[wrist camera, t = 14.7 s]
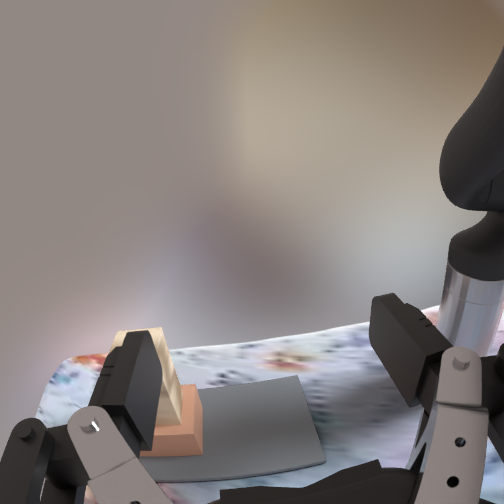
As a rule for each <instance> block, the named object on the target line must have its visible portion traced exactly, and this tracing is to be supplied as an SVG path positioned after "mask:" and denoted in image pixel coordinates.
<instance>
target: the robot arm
mask: <svg viewBox="0 0 504 504" xmlns="http://www.w3.org/2000/svg"><path fill="white" fill-rule="evenodd" d="M439 173H440V180H441V185H442V188H443V191H444V193H445V194H446V197H447V198H448V199H449V200H450V201H451V202H452V203H453V204H454V205H455V206H458V207H460V208H463V209H467V210H474V211H488V212H487V214H486V216H485V217H484V218H483V219H482V220H481V221H480V222H479V223H478V224H476V225H474V226H473V227H471V228H468V229H466V230H463V231H461V232H459V233H457V234H456V235H454V236H453V238H452V239H451V242H450V245H449V252H448V260H447V266H446V273H445V280H444V286H443V292H442V298H441V303H440V308H439V313H438V317H437V322H436V327H435V326H434V325H432V323H431V321H430V320H429V319H426V316H425V315H424V314H423V313H422V312H421V311H420V310H419V309H417V308H416V307H414V306H412V305H410V304H408V303H406V304H404V303H403V302H402V301H401V300H400V299H399V298H398V297H397V296H396V295H395V294H394V293H390V294H385V295H381V296H376V297H374V298H373V300H372V306H371V316H370V326H369V339H370V343H371V346H372V348H373V349H374V351H375V352H376V354H377V355H378V357H379V359H380V360H381V362H382V363H383V365H384V367H385V368H386V370H387V371H388V373H389V375H390V376H391V378H392V379H393V381H394V383H395V384H396V386H397V388H398V389H399V391H400V393H401V394H402V396H403V397H404V399H405V401H406V402H407V404H408V406H409V407H413V406H416V405H418V404H422V406H423V407H424V408H423V411H422V414H421V418H420V422H419V426H418V430H417V434H416V438H415V442H414V445H413V449H412V452H411V455H410V458H409V461H408V463H407V465H406V468H405V469H403V468H382V467H381V465H380V463H379V460H378V459H377V460H374V461H370V462H367V463H364V464H361V465H357V466H354V467H350V468H347V469H343V470H340V471H338V472H336V473H334V474H332V475H330V476H328V477H326V478H324V479H322V480H320V481H318V482H316V483H313V484H311V485H309V486H306V487H303V488H288V487H268V486H255V487H247V488H237V489H225V490H220V499H219V500H216V501H213V502H211V503H208V504H495V503H492V502H490V501H487V500H484V499H481V498H480V492H481V487H482V480H483V474H484V466H485V458H486V448H487V436H488V437H489V439H490V440H491V442H492V444H493V445H494V447H495V449H496V450H497V452H498V454H499V456H500V457H501V459H502V461H503V463H504V343H503V344H502V345H501V346H500V349H499V351H498V354H497V355H495V356H488V354H489V352H490V349H491V346H492V343H493V341H494V338H495V335H496V332H497V329H498V326H499V322H500V319H501V316H502V312H503V309H504V47H503V49H502V52H501V55H500V56H499V58H498V60H497V62H496V64H495V66H494V68H493V70H492V72H491V74H490V75H489V77H488V79H487V81H486V82H485V84H484V86H483V88H482V89H481V91H480V93H479V94H478V96H477V97H476V98H475V100H474V101H473V103H472V104H471V105H470V107H469V108H468V109H467V111H466V112H465V113H464V114H463V116H462V117H461V118H460V119H459V120H458V122H457V123H456V124H455V125H454V127H453V128H452V130H451V131H450V133H449V135H448V136H447V139H446V141H445V143H444V146H443V149H442V154H441V158H440V166H439ZM162 379H163V373H162V366H161V362H160V360H159V357H158V354H157V351H156V348H155V346H154V343H153V340H152V337H151V334H150V332H149V331H148V330H142V331H131V332H127V333H126V336H125V338H124V341H123V344H122V346H116V347H115V348H114V349H113V350H112V351H111V352H110V353H109V354H108V355H107V357H106V360H105V362H104V365H103V368H102V370H101V373H100V377H99V378H98V380H97V383H96V386H95V388H94V391H93V394H92V396H91V399H90V402H89V405H88V406H87V407H84V408H81V409H79V410H78V411H76V412H75V413H74V414H73V415H72V416H71V418H70V419H69V421H68V424H67V425H62V426H57V427H52V428H46V426H45V425H44V424H43V423H42V422H41V421H40V420H39V419H36V418H28V419H24V420H22V421H21V422H19V423H18V424H17V425H16V426H15V427H14V429H13V430H12V432H11V435H10V437H9V440H8V442H7V445H6V448H5V450H4V453H3V456H2V458H1V462H0V504H83V503H84V496H85V490H86V485H89V487H90V489H91V491H92V493H93V495H94V497H95V498H96V500H97V502H98V504H174V503H173V502H172V501H171V500H170V499H169V498H168V496H167V495H166V494H165V493H164V492H163V490H162V489H161V488H160V487H159V485H158V484H157V483H156V482H155V480H154V479H153V478H152V477H151V475H150V474H149V473H148V471H147V470H146V469H145V467H144V466H143V465H142V463H141V462H140V461H139V456H140V451H152V445H153V437H154V430H155V423H156V417H157V410H158V404H159V397H160V391H161V385H162ZM44 478H45V479H46V480H45V484H44V488H43V493H42V497H41V502H40V493H41V490H42V485H43V481H44Z"/></svg>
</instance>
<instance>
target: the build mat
mask: <svg viewBox="0 0 504 504" xmlns="http://www.w3.org/2000/svg"><path fill="white" fill-rule="evenodd" d="M197 391H198V395H199V398H200V401H201V404H202V407H203V455H191V456H139V461H140V462H141V463H142V465H143V466H144V467H145V469H146V470H147V471H148V473H149V474H150V475H151V477H152V478H153V479H154V480H155V482H193V481H212V480H224V479H235V478H244V477H252V476H259V475H266V474H272V473H278V472H284V471H289V470H295V469H300V468H304V467H309V466H314V465H318V464H322V463H326V458H325V455H324V452H323V449H322V446H321V443H320V440H319V437H318V434H317V431H316V428H315V425H314V422H313V419H312V416H311V414H310V411H309V408H308V405H307V402H306V399H305V396H304V393H303V390H302V387H301V384H300V381H299V378H298V375H296V376H290V377H285V378H279V379H273V380H267V381H261V382H254V383H248V384H240V385H233V386H225V387H217V388H207V389H198V390H197Z"/></svg>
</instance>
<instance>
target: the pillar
mask: <svg viewBox="0 0 504 504" xmlns="http://www.w3.org/2000/svg"><path fill="white" fill-rule="evenodd" d="M142 330H148V331H149V332H150V334H151V337H152V340H153V343H154V346H155V348H156V351H157V354H158V357H159V360H160V362H161V366H162V373H163V379H162V385H161V391H160V397H159V404H158V410H157V417H156V423H155V426H162V425H181V419H182V404H183V392H182V389H181V386H180V383H179V380H178V377H177V374H176V371H175V368H174V365H173V362H172V359H171V356H170V353H169V350H168V347H167V344H166V340H165V337H164V334H163V331H162V327H159V328H149V329H139V330H128V331H118V332H117V334H116V337H115V339H114V342H113V344H112V347H111V349H110V352H111V351H112V350H113V349H114V348H115V347H116V346H122V344H123V341H124V338H125V336H126V333H127V332H131V331H142ZM110 352H109V353H110Z"/></svg>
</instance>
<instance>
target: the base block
mask: <svg viewBox="0 0 504 504" xmlns="http://www.w3.org/2000/svg"><path fill="white" fill-rule="evenodd" d="M180 386H181V389H182V392H183V404H182V419H181V425H162V426H155V430H154V437H153V445H152V451H140V456H191V455H203V407H202V404H201V401H200V398H199V395H198V391H197V388H196V385H195V384H190V385H180Z"/></svg>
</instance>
